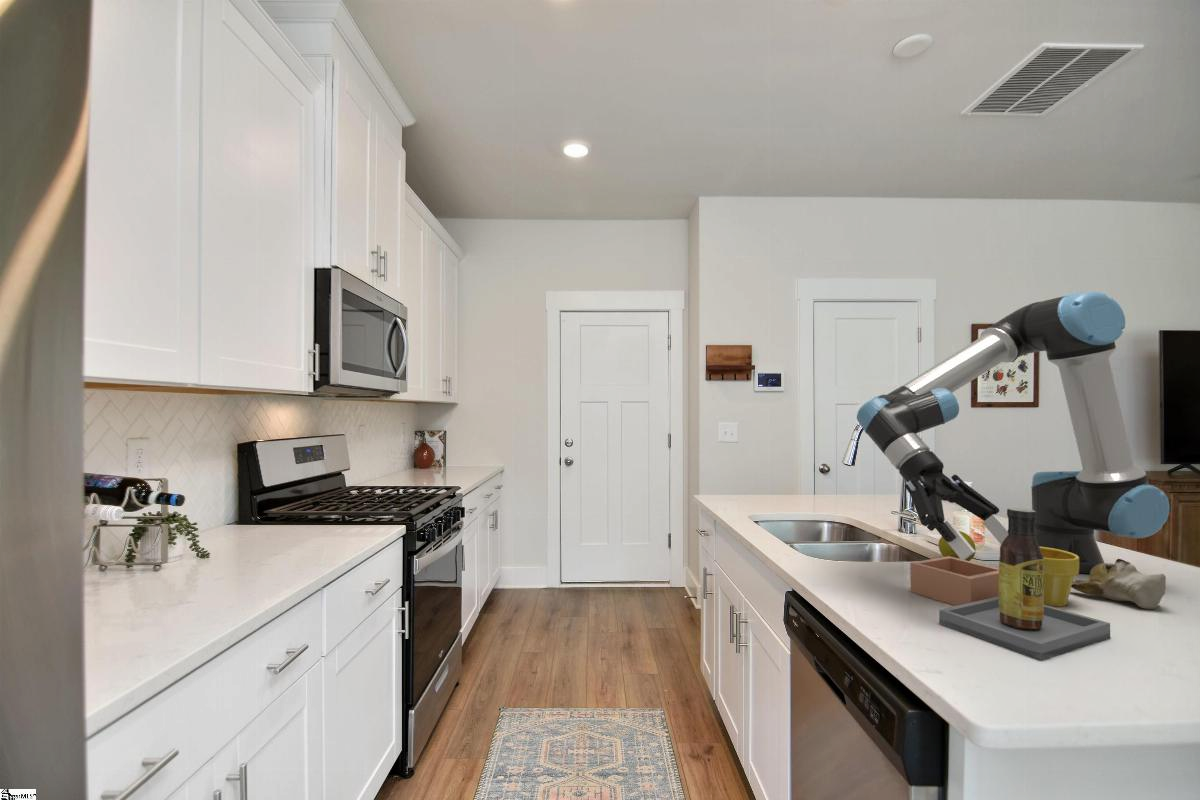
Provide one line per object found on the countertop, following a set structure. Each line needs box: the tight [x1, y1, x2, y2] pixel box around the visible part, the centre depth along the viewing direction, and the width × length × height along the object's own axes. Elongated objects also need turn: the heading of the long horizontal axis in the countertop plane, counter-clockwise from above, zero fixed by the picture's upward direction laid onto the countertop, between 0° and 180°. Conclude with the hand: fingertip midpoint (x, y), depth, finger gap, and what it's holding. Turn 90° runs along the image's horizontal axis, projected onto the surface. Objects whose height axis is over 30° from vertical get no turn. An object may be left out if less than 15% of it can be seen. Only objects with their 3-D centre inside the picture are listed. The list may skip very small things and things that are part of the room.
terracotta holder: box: [910, 556, 999, 606], centre depth 115 cm, size 12×12×6 cm
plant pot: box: [1040, 547, 1080, 607], centre depth 112 cm, size 10×10×10 cm
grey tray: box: [938, 596, 1111, 661], centre depth 97 cm, size 20×16×2 cm
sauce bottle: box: [998, 507, 1044, 630], centre depth 97 cm, size 7×6×20 cm
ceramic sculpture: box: [1071, 558, 1167, 610], centre depth 113 cm, size 11×9×15 cm
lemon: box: [937, 530, 976, 562], centre depth 139 cm, size 11×8×8 cm
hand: (992, 552), depth 101 cm, fingers open, 13 cm apart
